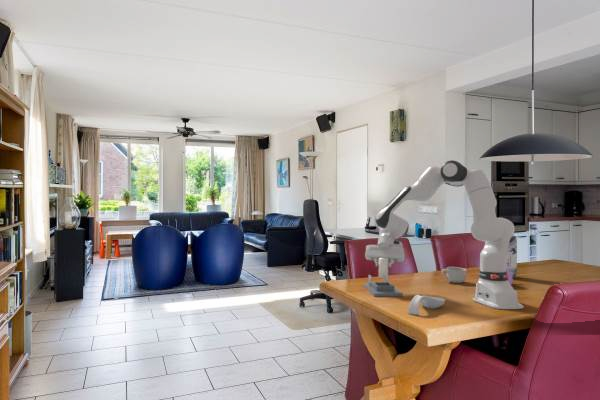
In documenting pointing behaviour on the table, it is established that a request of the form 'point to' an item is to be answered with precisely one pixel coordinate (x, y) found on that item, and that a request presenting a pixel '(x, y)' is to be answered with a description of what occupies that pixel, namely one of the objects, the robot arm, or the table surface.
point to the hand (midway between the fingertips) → (383, 266)
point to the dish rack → (382, 288)
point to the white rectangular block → (383, 268)
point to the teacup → (455, 274)
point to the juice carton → (512, 256)
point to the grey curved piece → (424, 303)
